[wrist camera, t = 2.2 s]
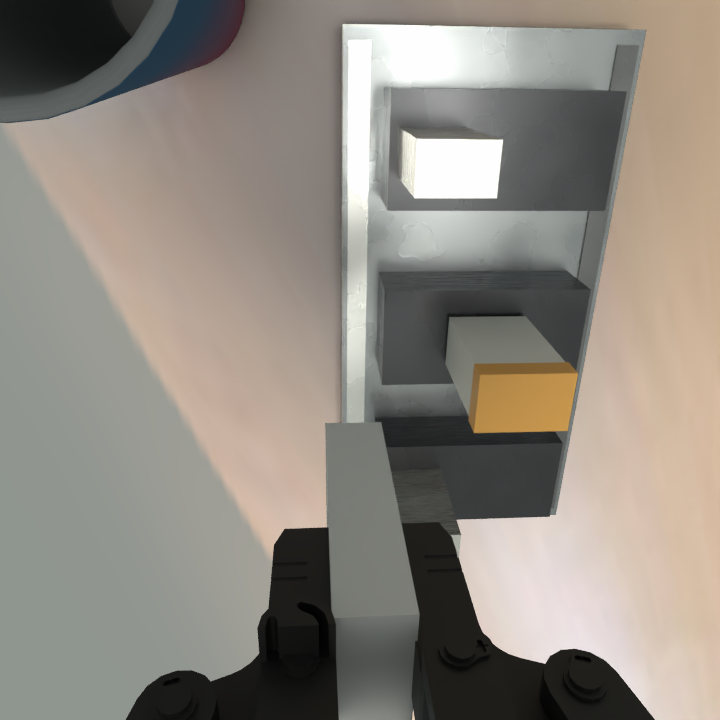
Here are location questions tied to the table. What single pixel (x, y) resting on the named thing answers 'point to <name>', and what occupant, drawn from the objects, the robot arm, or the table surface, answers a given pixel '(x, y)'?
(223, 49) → the cup
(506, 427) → the handle
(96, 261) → the table surface
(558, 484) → the panel
